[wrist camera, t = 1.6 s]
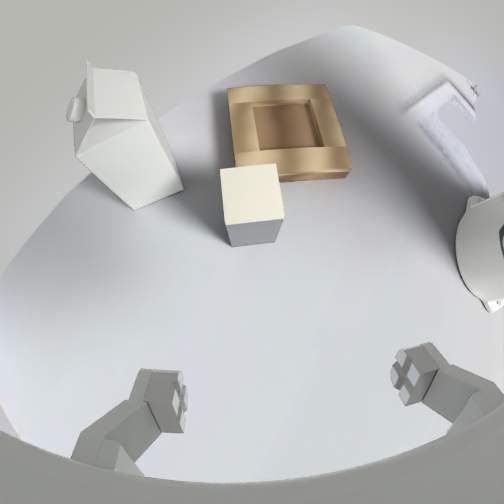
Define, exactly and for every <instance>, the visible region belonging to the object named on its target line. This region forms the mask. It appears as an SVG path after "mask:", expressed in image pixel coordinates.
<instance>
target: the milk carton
mask: <svg viewBox="0 0 504 504" xmlns="http://www.w3.org/2000/svg"><path fill="white" fill-rule="evenodd" d="M86 66H87V67H86V72H87V73H86V75H87V77H86V79H85V81H84V83H83V85H82V87H81V89H80V90H79V92H78V95H77V96H76V97H73V98H72V100H71V101H70V103H69V106H68V109H67V115H66V117H67V121H70V122H73V125H74V145H75V146H74V147H75V156H76V157H77V158H78V159H79V160H80V161H81V162H82V163H83V164H84V165H85V166H86V167H87V168H88V169H89V170H90V171H91V172H92V173H93V174H94V175H96V176H97V177H98V178H99V179H100V180H101V181H102V182H103V183H104V184H105V185H106V186H108V187H109V188H110V189H111V190H112V191H113V192H114V193H115V194H116V195H117V196H119V197H120V198H121V199H122V200H123V201H124V202H125V203H126V204H127V205H129V206H130V207H131V208H132V209H133V210H137V209H139V208H141V207H144V206H146V205H148V204H151V203H153V202H155V201H158V200H160V199H162V198H165V197H167V196H169V195H172V194H174V193H177V192H179V191H182V190H184V186H183V183H182V180H181V177H180V174H179V171H178V168H177V165H176V162H175V159H174V156H173V153H172V150H171V147H170V145H169V143H168V141H167V139H166V137H165V135H164V132H163V130H162V128H161V126H160V124H159V122H158V119H157V117H156V115H155V113H154V111H153V109H152V107H151V104H150V102H149V100H148V97H147V95H146V93H145V91H144V89H143V86H142V84H141V82H140V80H139V77H138V75H137V73H136V72H131V71H123V70H113V69H102V68H93V67H92V65H91V64H90V62H89V61H87V62H86Z"/></svg>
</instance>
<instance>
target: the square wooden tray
mask: <svg viewBox="0 0 504 504" xmlns="http://www.w3.org/2000/svg"><path fill="white" fill-rule="evenodd" d="M227 93H228V103H229V112H230V121H231V130H232V139H233V148H234V157H235V166H236V167H244V166H253V165H264V164H275V163H276V167H277V173H278V179H279V183H280V182H292V181H305V180H319V179H336V178H345V177H346V176H347V174H348V173H349V171H350V170H351V169H352V163H351V160H350V157H349V153H348V150H347V146H346V143H345V140H344V137H343V134H342V130H341V127H340V124H339V121H338V118H337V115H336V113H335V110H334V107H333V104H332V101H331V99H330V96H329V93H328V91H327V88H326V85H308V84H300V85H266V86H251V87H239V88H229V89H227Z"/></svg>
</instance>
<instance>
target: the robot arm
mask: <svg viewBox="0 0 504 504" xmlns="http://www.w3.org/2000/svg"><path fill="white" fill-rule="evenodd" d="M456 256H457V262H458V266H459V270H460V273H461V275H462V278H463V280H464V282H465V284H466V286H467V287H468V289H469V290H470V291H471V292H472V293H473V294H474V295H475V296H476V297H478V298H479V299H481V300H482V301H483V303H484V305H485V307H486V309H487V310H488V311H489V312H490V313H491V312H495V311H497V310H498V309H499V308H500V307H502V306H503V305H504V192H502V193H500V194H497V195H495V196H493V197H491V198H489V199H485V198H481V197H478V196H471V197H469V198H468V200H467V207H466V212H465V214H464V216H463V217H462V219H461V220H460V223H459V225H458V229H457V234H456ZM395 358H396V360H397V361H396V362H395V363H394V365H393V366H392V369H391V372H390V373H391V381H392V384H393V386H394V387H395V388H396V389H398V390H400V391H399V397H400V398H401V400H402V402H403V404H404V406H408V405H412V404H415V403H418V402H422V403H424V404H425V405H426V406H428V407H429V408H431V409H432V410H434V411H435V412H437V413H438V414H440V415H441V416H443V417H444V418H445V419H447V420H448V421H450V422H451V423H453V424H452V425H451V427H450V428H449V429H448V431H447V433H446V434H447V435H445V436H443V437H441V438H439V439H436V440H434V441H432V442H429V443H427V444H424V445H422V446H419V447H417V448H414V449H412V450H409V451H406V452H403V453H401V454H398V455H395V456H392V457H389V458H386V459H382V460H379V461H376V462H372V463H369V464H365V465H361V466H357V467H353V468H349V469H345V470H340V471H336V472H331V473H326V474H320V475H315V476H308V477H302V478H294V479H286V480H277V481H265V482H247V483H205V482H187V481H176V480H166V479H158V478H151V477H144V475H143V473H142V472H141V471H140V470H139V468H138V467H137V466H136V465H135V463H134V462H135V461H136V460H137V459H138V458H139V457H140V456H141V455H142V454H143V453H144V452H145V451H146V450H147V449H148V447H149V446H150V445H151V444H152V443H153V442H154V441H155V440H156V439H157V438H158V436H159V435H160V434H161V432H165V433H184V428H185V421H186V419H185V416H184V412H185V411H186V410H187V406H188V394H187V389H186V386H185V385H183V379H184V378H183V375H182V372H181V371H172V370H156V369H154V370H152V369H141V370H140V371H139V372H138V375H137V378H136V380H135V383H134V386H133V389H132V391H131V394H130V397H129V400H124V401H123V402H121V403H120V404H119V405H117V406H116V407H115V408H113V409H112V410H111V411H109V412H108V413H107V414H105V415H104V416H103V417H101V418H100V419H98V420H97V421H96V422H94V423H93V424H92V425H90V426H89V427H87V428H86V429H85V430H83V431H82V432H81V433H80V435H79V438H78V440H77V443H76V446H75V448H74V451H73V453H72V456H71V459H69V458H66V457H63V456H60V455H57V454H54V453H52V452H49V451H46V450H44V449H41V448H39V447H36V446H34V445H31V444H29V443H27V442H25V441H22V440H20V439H18V438H16V437H13V436H12V435H10V434H8V433H6V432H4V431H1V430H0V504H504V394H503V393H502V392H501V391H500V389H499V388H498V387H497V386H496V384H495V383H494V382H492V381H489V380H487V379H485V378H482V377H480V376H478V375H476V374H473V373H471V372H469V371H466V370H464V369H462V368H460V367H457V366H455V365H450V364H449V363H448V362H447V361H446V359H445V358H444V357H443V356H442V355H441V353H440V352H439V351H438V350H437V348H436V347H435V346H434V345H433V344H432V343H430V342H428V343H424V344H420V345H416V346H412V347H408V348H404V349H400V350H399V351H398V352H397V354H396V357H395Z"/></svg>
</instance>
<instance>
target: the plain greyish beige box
mask: <svg viewBox="0 0 504 504" xmlns="http://www.w3.org/2000/svg"><path fill="white" fill-rule="evenodd" d="M220 177H221V188H222V198H223V209H224V219H225V225H226V228H227V232H228V235H229V239H230V242H231V245H232V247H238V246H247V245H255V244H264V243H273V242H275V240H276V237H277V235H278V232H279V229H280V227H281V224H282V222H283V219H284V216H285V215H284V208H283V202H282V196H281V190H280V184H279V179H278V173H277V167H276V163H275V164H264V165H253V166H244V167H235V168H226V169H220Z"/></svg>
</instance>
